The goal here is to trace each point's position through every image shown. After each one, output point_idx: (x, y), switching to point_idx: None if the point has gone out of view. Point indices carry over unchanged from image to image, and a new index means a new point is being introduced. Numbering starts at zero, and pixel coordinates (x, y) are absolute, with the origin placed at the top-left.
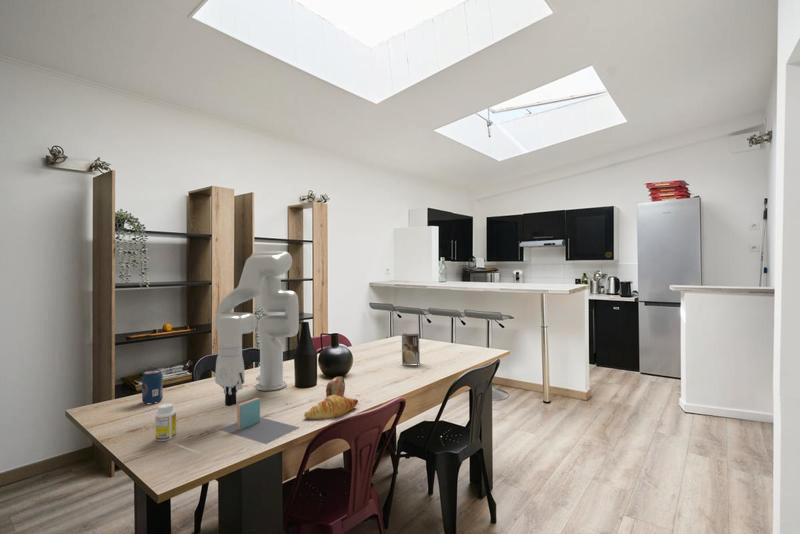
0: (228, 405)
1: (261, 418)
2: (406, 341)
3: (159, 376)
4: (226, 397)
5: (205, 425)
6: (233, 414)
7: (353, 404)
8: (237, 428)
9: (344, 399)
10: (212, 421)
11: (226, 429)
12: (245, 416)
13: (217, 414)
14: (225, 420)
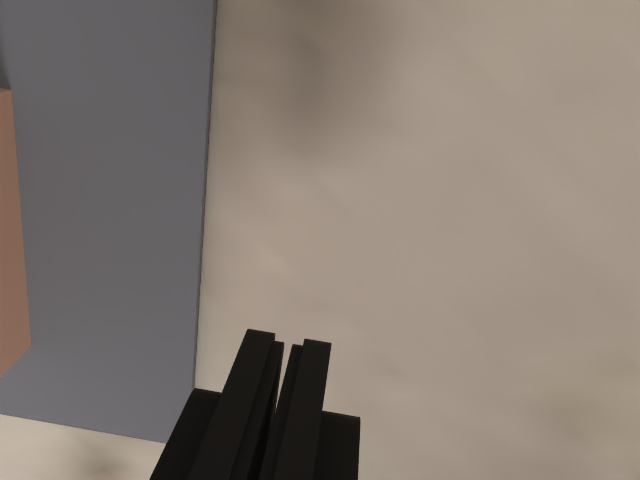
0: (245, 337)
1: (53, 407)
2: None
3: None
4: (282, 450)
5: (529, 61)
6: (445, 429)
7: None
8: (4, 91)
9: None
10: (536, 200)
11: (122, 32)
12: None
13: (637, 385)
14: (398, 274)
